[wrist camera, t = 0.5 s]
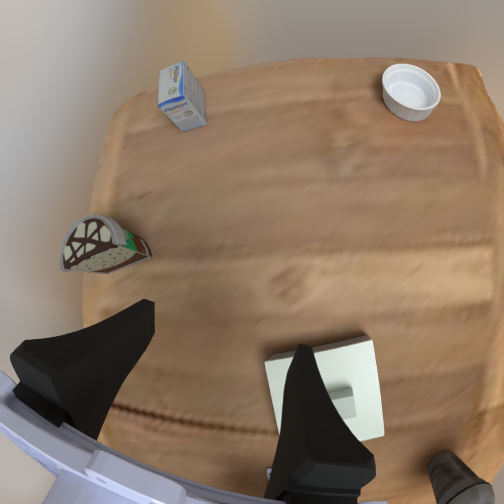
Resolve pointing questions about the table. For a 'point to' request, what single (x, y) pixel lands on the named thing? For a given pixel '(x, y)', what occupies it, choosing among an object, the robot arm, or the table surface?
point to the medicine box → (181, 97)
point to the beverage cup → (457, 482)
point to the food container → (100, 246)
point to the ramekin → (409, 92)
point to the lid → (340, 386)
